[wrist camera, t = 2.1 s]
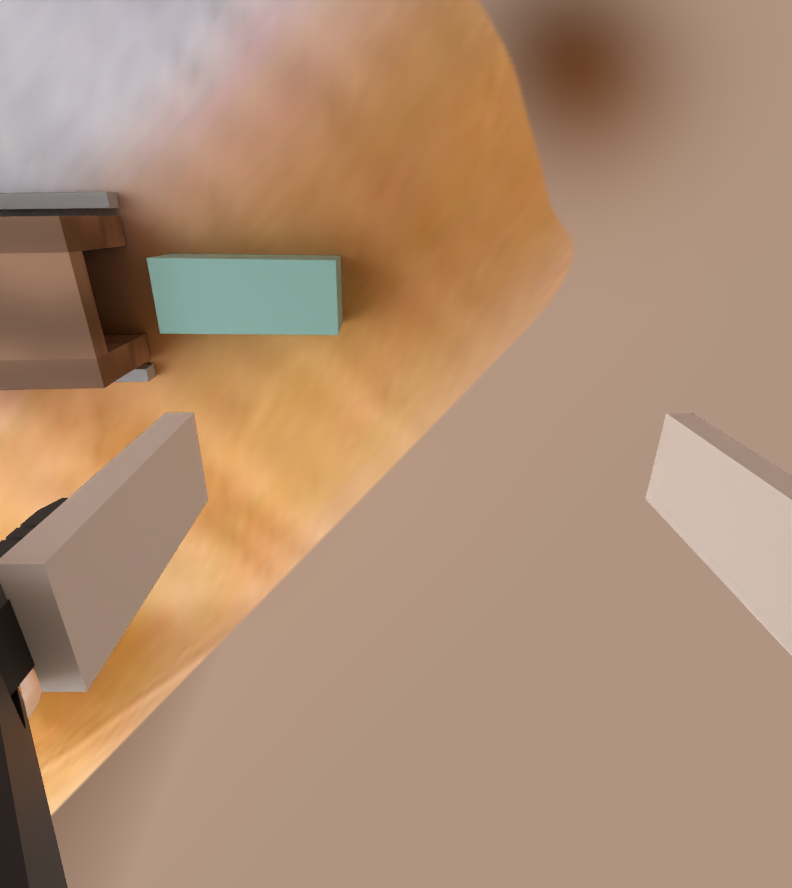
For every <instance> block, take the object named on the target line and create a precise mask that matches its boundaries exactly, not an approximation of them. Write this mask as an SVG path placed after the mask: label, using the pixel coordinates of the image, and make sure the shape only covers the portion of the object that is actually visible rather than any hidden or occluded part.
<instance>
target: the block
mask: <svg viewBox="0 0 792 888" xmlns="http://www.w3.org/2000/svg"><path fill="white" fill-rule="evenodd" d="M119 246H126V242H125V238H124V233H123V229H122V224H121V220H120V216H11V217H0V390H25V389H74V388H105V387H107V386H108V385H110V384H111V383H113V382H115V381H116V380H118V379H119V378H121V377H123V376H124V375H126V374H127V373H129V372H131V371H132V370H134V369H136V368H137V367H139V366H140V365H142V364H144V363H145V362H147V361H148V360H150V359H151V356H150V352H149V347H148V343H147V338H146V334H121V335H103V331H102V328H101V324H100V320H99V316H98V312H97V308H96V304H95V300H94V296H93V292H92V288H91V284H90V280H89V276H88V273H87V269H86V265H85V261H84V257H83V253H82V251H85V250H93V249H102V248H110V247H119Z"/></svg>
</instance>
